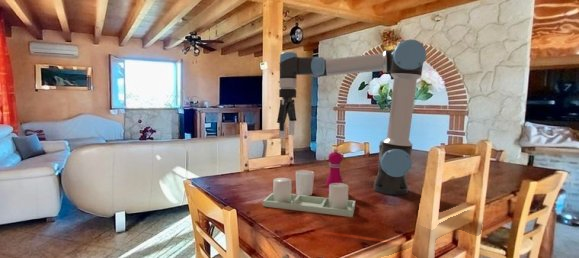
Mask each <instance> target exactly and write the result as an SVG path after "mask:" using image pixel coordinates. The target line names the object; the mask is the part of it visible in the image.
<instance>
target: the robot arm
mask: <svg viewBox="0 0 579 258" xmlns="http://www.w3.org/2000/svg"><path fill="white" fill-rule="evenodd" d="M426 57H427V50H426V46H424V44H423V43H421V42H420V41H418V40H417V39H413V38H412V39H411V38H410V39H406V40H402V41H400V42H399V43H398V44H397V45H395V48H393V49H389V50H384V51H383V52H382V53H374V54H363V55H356V56H347V57H346V56H345V57H336V58H330V59H329V58H326V59H325V58H324V57H323V56H322V57H321V56H309V57H308V56H307V57H306V56H305V57H304V56H303V57H302V56H298V54H297V52H295V51H284V52H281V53H280V56H279V63H278V64H279V80H278V83H279V90H278V91H279V92H278V95H279V96H278V97H279V98H282V99H280V101H279V108H278V114H277V121H276V123H277V124H278V125H279V126H278V139H287V138H286V135H287V134H286V133H287V132H288V136H295V126H296V125H295V124H296V123H295V122H296V121H297V115H296V107H295V99H296V98H297V82H298V81H297V80H298V79H297V76H300V75H301V76H311V77H313V78H315V79H317V78H321V77H328V76H340V75H351V74H360V73H363V74H364V73H371V72H372V73H373V72H384V73H388V74H389V73H390V76H391V77H392V78H393V83H392V85H393V86H392V92H391V102H390V110H389V118H388V125H387V126H388V127H387V135H386V138H385V139H383V140H381V141H379V146H378V148H379V150H378V168H377V169H378V172H377V174H376V177H375V179H374V183H373V190H374V191H375V192H378V193H380V194H385V195H390V196H401V195H402V196H403V195H406V194H408V193H409V185H408V181H407V177H406V175H407V174H408V173H409V171H411V169H412V165H413V159H412V152H413V151H412V149H413V143H412V142H411V141H410V136H411V135H410V134H411V129H412V128H411V127H412V126H411V125H412V119H413V112H414V102H415V98H416V97H415V95H416V89H417V82H418V80H419V79H420V78H422V73H423V67H424V66H423V65H424V63H425V61H426ZM293 98H295V99H293ZM287 115H288V119H289V120H288V128H286V127H287V125H286V124H287V123H286V119H287ZM286 129H288V130H286Z"/></svg>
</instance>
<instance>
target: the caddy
mask: <svg viewBox="0 0 579 258" xmlns="http://www.w3.org/2000/svg"><path fill="white" fill-rule="evenodd" d="M328 206H329V197H322V196H315V195H313V196H312V195H308V196H305V195H298V194H297V193H291V203H283V202H275V201H273V192H271V193H270V194H269V195H268V196H267V197H265V198H264V199H263V200H262V207H267V208H276V209H282V210H283V209H284V210H291V211H299V212H300V211H301V212H307V213H316V214H324V215H333V216H341V217H347V218H348V217H350V218H353V216H354V214H355V213H354V212H355V209H356V208H355V207H356V200H351V199H350V200H349V199H348V210H344V209H335V208H328Z"/></svg>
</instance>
